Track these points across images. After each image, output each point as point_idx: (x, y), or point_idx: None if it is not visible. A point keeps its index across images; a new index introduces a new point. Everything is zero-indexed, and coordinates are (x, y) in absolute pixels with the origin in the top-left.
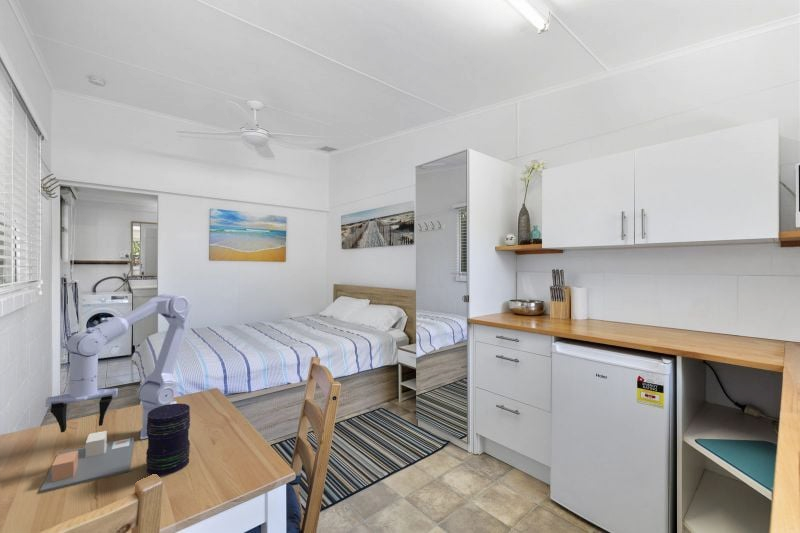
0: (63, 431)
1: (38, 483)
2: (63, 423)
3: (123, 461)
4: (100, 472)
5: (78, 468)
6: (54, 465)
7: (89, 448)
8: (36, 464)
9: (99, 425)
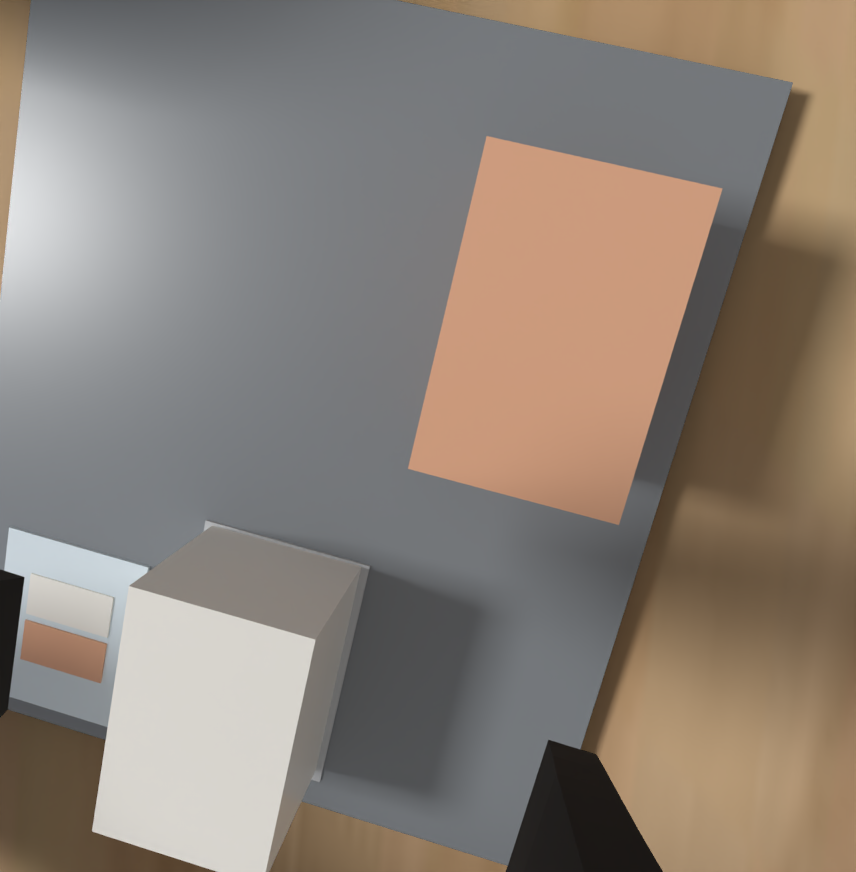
0: (563, 752)
1: (762, 342)
2: (581, 861)
3: (77, 174)
4: (278, 75)
5: None
6: (692, 184)
7: (304, 594)
8: (724, 795)
9: (7, 578)
